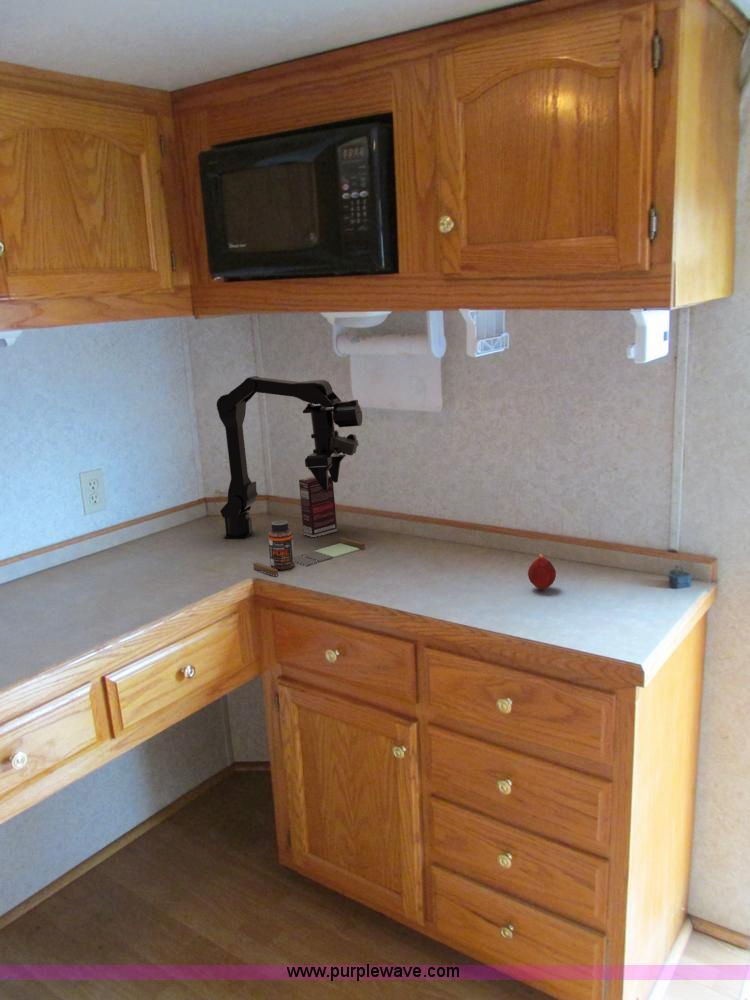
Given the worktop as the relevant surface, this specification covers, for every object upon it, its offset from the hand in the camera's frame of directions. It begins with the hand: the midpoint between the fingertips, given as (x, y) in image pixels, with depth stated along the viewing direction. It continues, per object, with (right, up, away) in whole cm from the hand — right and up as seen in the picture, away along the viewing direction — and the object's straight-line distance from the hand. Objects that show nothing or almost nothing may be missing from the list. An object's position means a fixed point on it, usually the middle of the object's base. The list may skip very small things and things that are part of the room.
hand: (330, 486), depth 221 cm
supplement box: (-3, -13, +8) cm, 16 cm away
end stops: (-4, -18, -14) cm, 24 cm away
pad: (+2, -17, -9) cm, 19 cm away
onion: (+48, -23, -44) cm, 69 cm away
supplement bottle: (-11, -20, -19) cm, 30 cm away
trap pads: (-4, -18, -14) cm, 24 cm away
